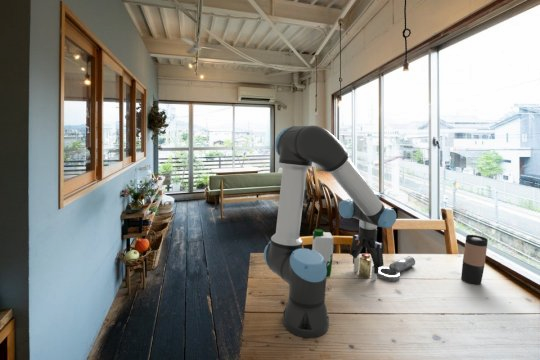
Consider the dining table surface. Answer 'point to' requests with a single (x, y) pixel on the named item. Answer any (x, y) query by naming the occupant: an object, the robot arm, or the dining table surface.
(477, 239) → the travel mug
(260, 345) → the dining table surface
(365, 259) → the yellow jar pink lid
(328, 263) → the milk carton
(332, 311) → the dining table surface
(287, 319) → the robot arm
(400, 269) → the grey ring-headed tool
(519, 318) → the dining table surface
